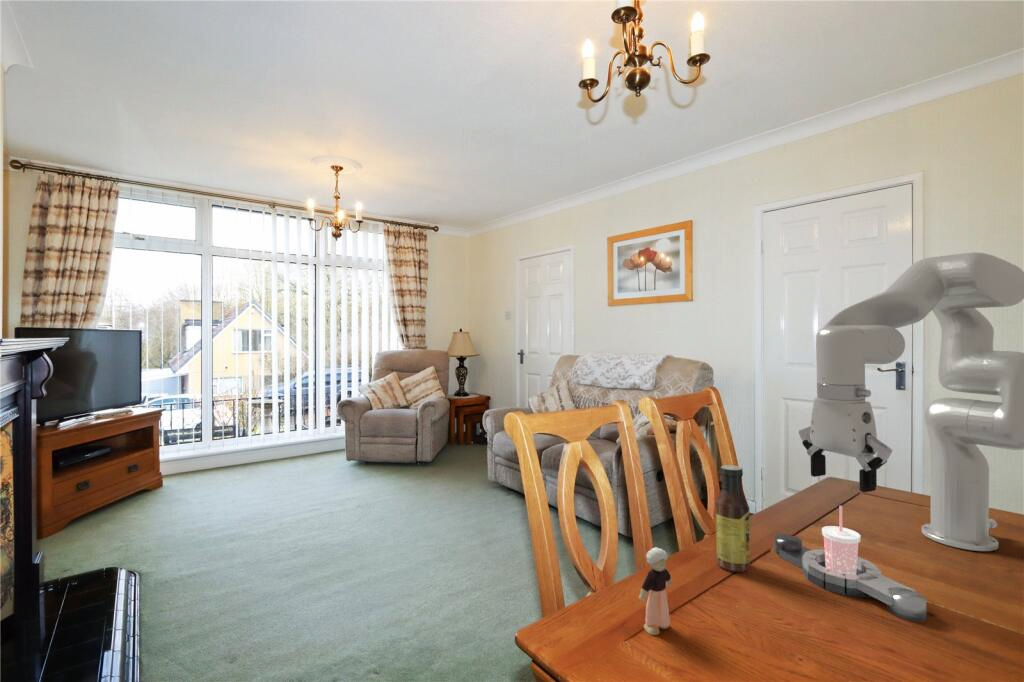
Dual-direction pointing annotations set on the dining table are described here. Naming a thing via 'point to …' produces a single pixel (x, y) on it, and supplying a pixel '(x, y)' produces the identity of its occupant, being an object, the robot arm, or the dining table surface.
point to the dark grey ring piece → (793, 553)
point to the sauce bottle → (732, 522)
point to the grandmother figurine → (656, 592)
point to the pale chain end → (871, 586)
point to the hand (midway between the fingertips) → (841, 482)
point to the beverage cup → (841, 548)
